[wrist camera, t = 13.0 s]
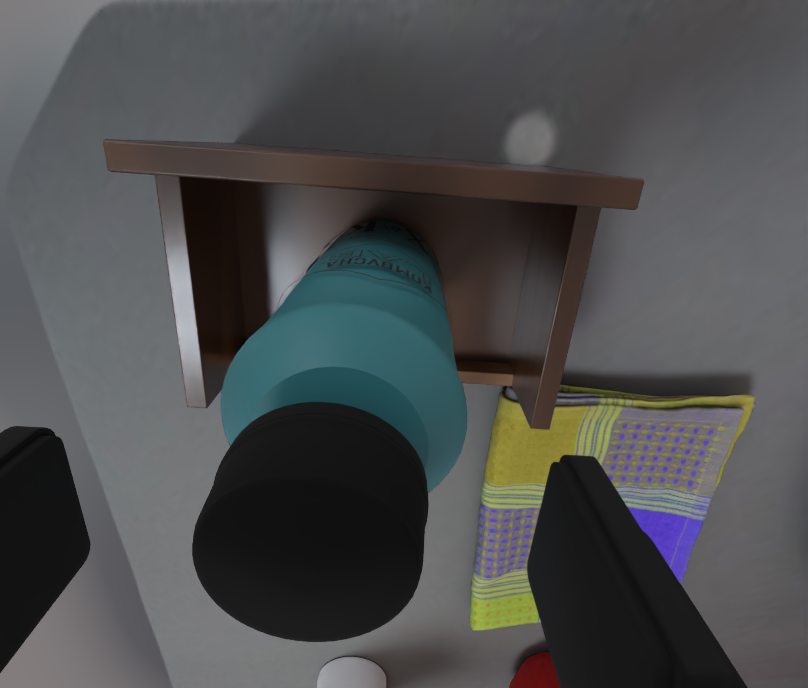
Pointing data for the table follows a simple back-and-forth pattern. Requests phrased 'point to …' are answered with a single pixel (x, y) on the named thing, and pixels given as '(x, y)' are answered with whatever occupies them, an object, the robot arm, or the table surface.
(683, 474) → the dish towel
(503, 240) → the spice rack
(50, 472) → the robot arm
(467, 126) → the table surface
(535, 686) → the apple
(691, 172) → the table surface
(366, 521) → the beverage bottle
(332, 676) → the spray bottle
